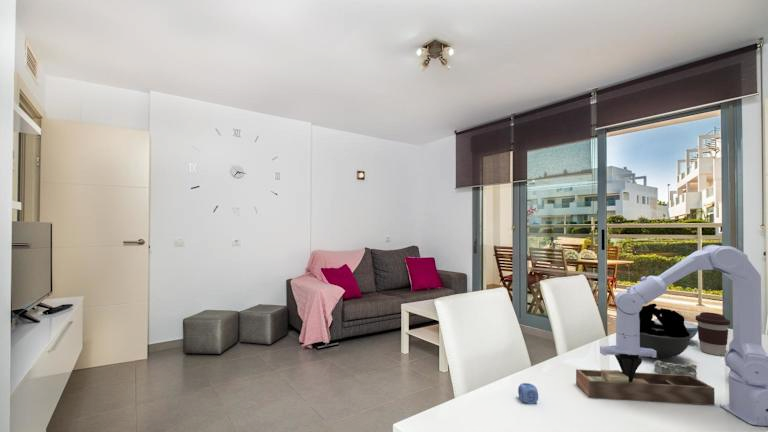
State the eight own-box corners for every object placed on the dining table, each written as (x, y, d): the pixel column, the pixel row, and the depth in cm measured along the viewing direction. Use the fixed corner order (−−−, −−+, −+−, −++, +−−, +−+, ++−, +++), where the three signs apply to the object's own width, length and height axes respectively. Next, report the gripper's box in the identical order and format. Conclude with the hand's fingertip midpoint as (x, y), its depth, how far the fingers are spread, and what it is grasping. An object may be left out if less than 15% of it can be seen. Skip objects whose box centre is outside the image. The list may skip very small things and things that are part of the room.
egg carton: (699, 378, 115) (699, 365, 115) (692, 384, 111) (692, 371, 111) (658, 367, 124) (658, 355, 124) (651, 372, 119) (651, 360, 119)
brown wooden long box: (690, 390, 106) (690, 375, 106) (714, 404, 97) (714, 388, 97) (576, 384, 108) (576, 369, 109) (589, 397, 100) (589, 381, 100)
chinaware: (645, 336, 158) (645, 319, 158) (669, 334, 163) (669, 317, 163) (682, 348, 144) (682, 328, 144) (707, 345, 148) (707, 326, 149)
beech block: (628, 386, 101) (628, 377, 101) (610, 385, 101) (610, 376, 101) (618, 378, 106) (618, 370, 106) (601, 378, 106) (601, 369, 106)
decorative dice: (532, 397, 100) (532, 382, 100) (538, 404, 96) (538, 389, 96) (518, 397, 100) (518, 382, 100) (523, 404, 96) (523, 389, 96)
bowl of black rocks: (678, 371, 119) (678, 315, 120) (614, 353, 136) (613, 304, 137) (699, 360, 130) (698, 308, 131) (637, 344, 147) (636, 299, 148)
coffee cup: (728, 359, 132) (727, 318, 132) (693, 351, 140) (693, 313, 140) (732, 353, 138) (731, 314, 139) (698, 346, 146) (698, 310, 146)
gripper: (645, 330, 107) (645, 376, 106) (594, 328, 108) (594, 373, 108) (661, 337, 100) (661, 386, 99) (607, 335, 101) (607, 383, 101)
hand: (627, 380), depth 103 cm, fingers closed
